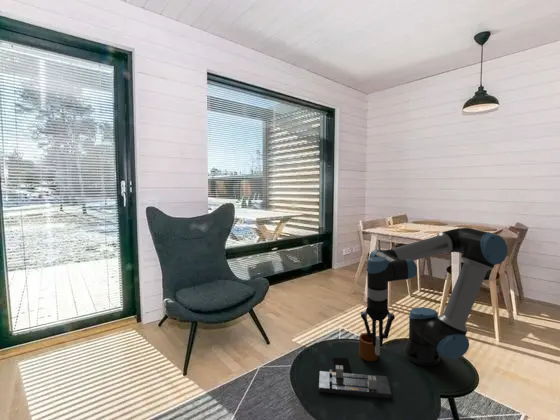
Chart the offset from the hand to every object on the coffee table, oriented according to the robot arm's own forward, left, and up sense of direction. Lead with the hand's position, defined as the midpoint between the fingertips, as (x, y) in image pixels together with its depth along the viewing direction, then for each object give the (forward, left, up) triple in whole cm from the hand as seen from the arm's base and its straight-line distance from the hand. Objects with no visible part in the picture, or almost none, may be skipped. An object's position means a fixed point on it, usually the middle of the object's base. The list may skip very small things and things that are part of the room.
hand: (377, 353), depth 121 cm
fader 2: (+2, +2, -14) cm, 14 cm away
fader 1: (+15, -3, -14) cm, 20 cm away
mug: (+1, -24, -16) cm, 29 cm away
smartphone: (+13, -11, -17) cm, 24 cm away
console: (+9, -1, -16) cm, 18 cm away
